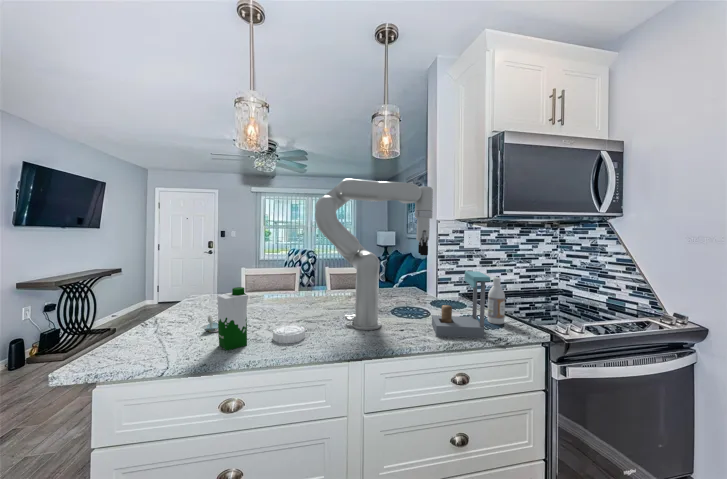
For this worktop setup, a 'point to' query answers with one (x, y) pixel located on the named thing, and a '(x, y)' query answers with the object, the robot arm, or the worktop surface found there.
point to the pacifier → (211, 325)
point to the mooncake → (289, 334)
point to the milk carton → (232, 319)
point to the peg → (446, 314)
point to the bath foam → (496, 303)
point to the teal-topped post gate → (472, 279)
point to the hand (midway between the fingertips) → (422, 254)
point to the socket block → (458, 327)
